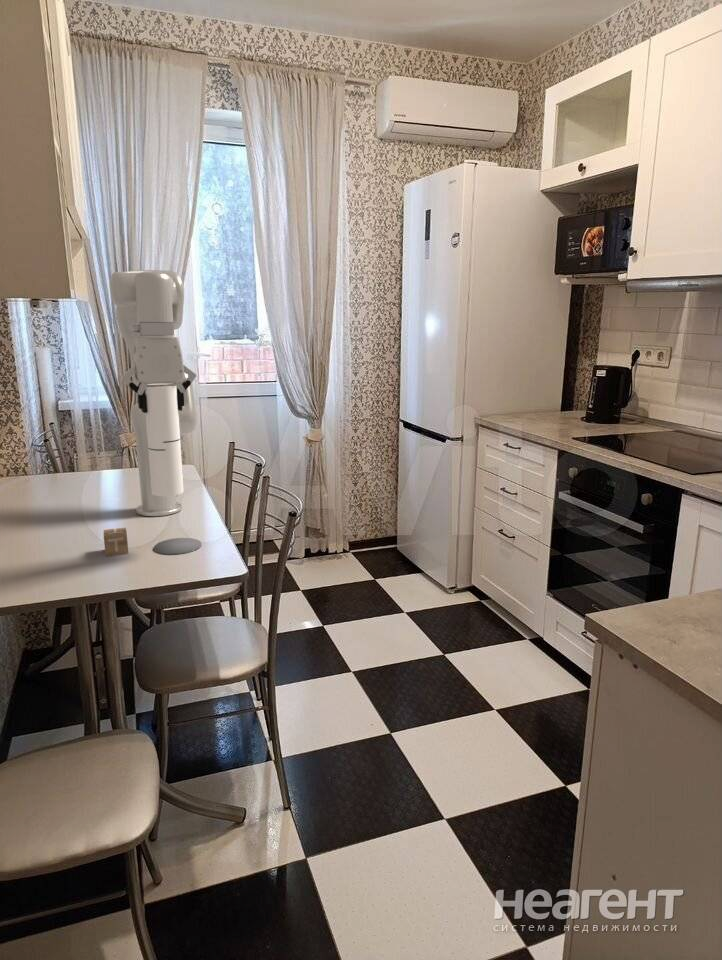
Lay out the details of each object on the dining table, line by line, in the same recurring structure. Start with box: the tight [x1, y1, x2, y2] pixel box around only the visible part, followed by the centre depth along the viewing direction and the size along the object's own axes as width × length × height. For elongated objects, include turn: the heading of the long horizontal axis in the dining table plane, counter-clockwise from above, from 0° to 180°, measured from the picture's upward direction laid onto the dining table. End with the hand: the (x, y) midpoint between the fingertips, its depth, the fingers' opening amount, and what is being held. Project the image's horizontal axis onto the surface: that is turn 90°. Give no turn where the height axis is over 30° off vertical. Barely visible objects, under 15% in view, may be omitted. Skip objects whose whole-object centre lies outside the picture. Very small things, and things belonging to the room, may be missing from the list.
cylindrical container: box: [144, 384, 184, 496], centre depth 147 cm, size 7×7×25 cm
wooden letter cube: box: [103, 527, 129, 557], centre depth 150 cm, size 5×5×5 cm
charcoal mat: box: [153, 537, 202, 556], centre depth 154 cm, size 11×11×1 cm
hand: (161, 410), depth 145 cm, fingers closed on cylindrical container, 7 cm apart
